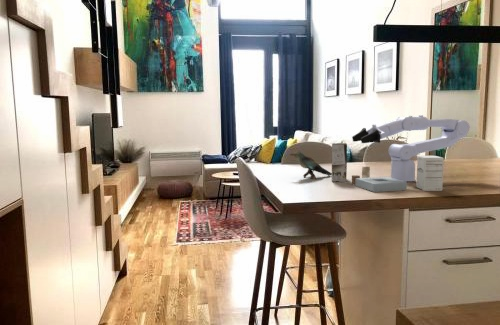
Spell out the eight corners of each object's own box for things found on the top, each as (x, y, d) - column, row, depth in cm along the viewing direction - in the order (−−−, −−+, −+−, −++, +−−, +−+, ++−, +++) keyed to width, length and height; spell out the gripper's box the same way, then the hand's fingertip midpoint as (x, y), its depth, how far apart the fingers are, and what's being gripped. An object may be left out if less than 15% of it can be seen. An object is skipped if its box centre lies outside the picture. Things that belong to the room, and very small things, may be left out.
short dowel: (357, 183, 175) (357, 175, 175) (361, 184, 172) (361, 176, 172) (350, 183, 175) (350, 175, 174) (354, 185, 172) (354, 176, 171)
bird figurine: (325, 172, 201) (307, 137, 195) (337, 176, 192) (318, 139, 186) (304, 188, 198) (285, 154, 192) (315, 192, 189) (295, 156, 183)
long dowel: (367, 180, 181) (367, 165, 181) (370, 182, 178) (371, 166, 178) (360, 181, 181) (360, 166, 180) (364, 182, 178) (364, 167, 177)
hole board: (386, 183, 173) (386, 176, 173) (406, 189, 159) (406, 182, 159) (355, 185, 170) (355, 178, 169) (373, 191, 156) (373, 183, 156)
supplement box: (415, 187, 164) (416, 155, 163) (434, 187, 164) (436, 155, 163) (422, 191, 157) (424, 157, 155) (442, 190, 157) (444, 157, 155)
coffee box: (346, 182, 179) (347, 144, 177) (331, 181, 180) (331, 144, 178) (346, 178, 188) (346, 142, 186) (331, 178, 189) (332, 142, 187)
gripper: (375, 120, 183) (347, 129, 181) (393, 121, 169) (363, 132, 167) (378, 135, 185) (351, 145, 182) (396, 138, 171) (367, 148, 168)
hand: (357, 140), depth 175 cm, fingers open, 7 cm apart
